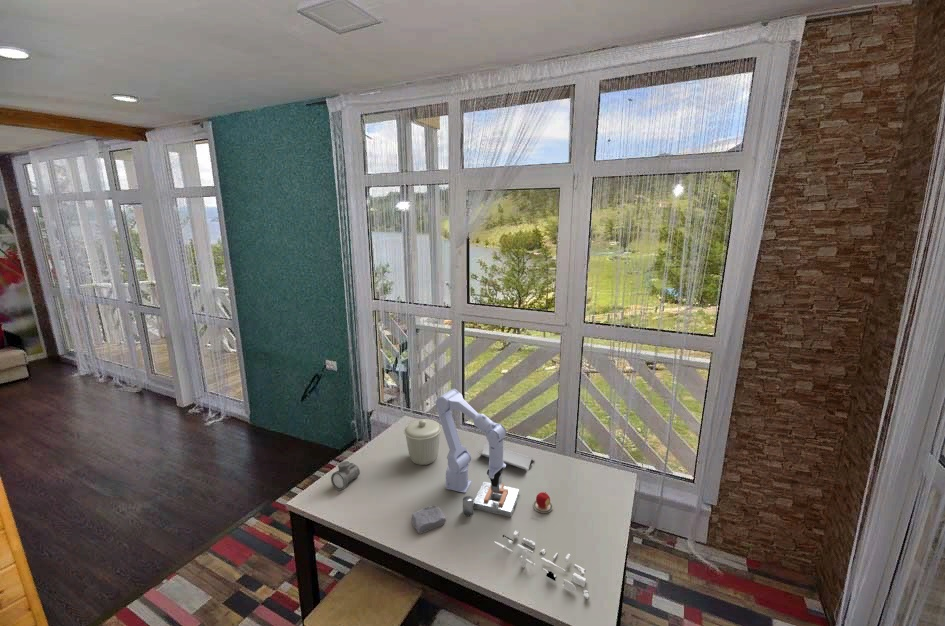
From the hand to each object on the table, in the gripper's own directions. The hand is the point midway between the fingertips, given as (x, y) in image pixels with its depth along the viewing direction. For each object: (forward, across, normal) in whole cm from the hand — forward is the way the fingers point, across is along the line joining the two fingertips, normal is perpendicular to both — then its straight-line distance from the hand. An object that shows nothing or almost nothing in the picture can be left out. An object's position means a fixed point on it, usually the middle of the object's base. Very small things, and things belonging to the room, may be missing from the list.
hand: (496, 482), depth 168 cm
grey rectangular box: (+3, 0, 0) cm, 3 cm away
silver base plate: (+10, +1, 0) cm, 10 cm away
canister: (+10, +18, +42) cm, 47 cm away
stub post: (+10, -9, +9) cm, 16 cm away
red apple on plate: (+10, +4, -19) cm, 22 cm away
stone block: (+10, -18, +23) cm, 31 cm away
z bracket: (+10, +30, +4) cm, 32 cm away
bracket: (+7, +2, 0) cm, 7 cm away
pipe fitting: (+10, -9, +67) cm, 68 cm away
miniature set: (+10, -23, -24) cm, 35 cm away
